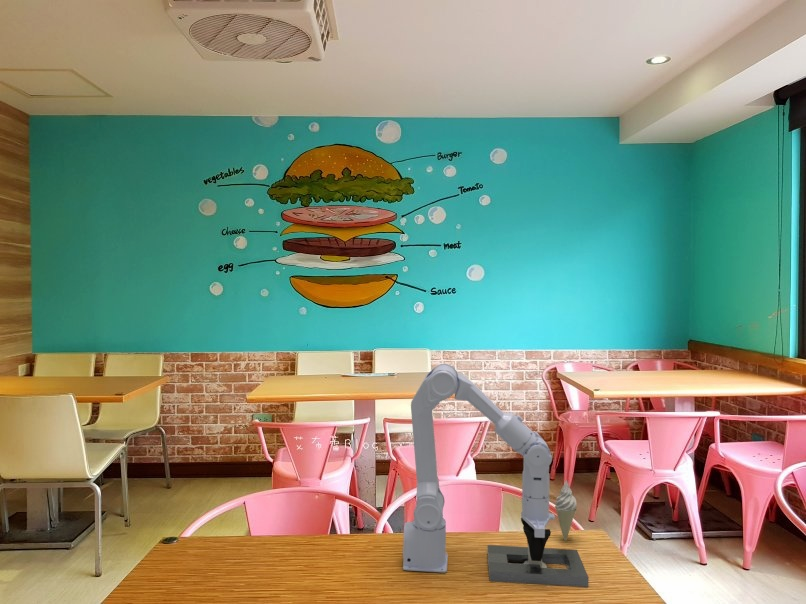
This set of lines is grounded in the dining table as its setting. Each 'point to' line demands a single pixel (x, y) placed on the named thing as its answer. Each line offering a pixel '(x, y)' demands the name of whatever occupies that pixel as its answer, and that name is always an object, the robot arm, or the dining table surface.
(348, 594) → the dining table surface
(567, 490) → the ice cream cone
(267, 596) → the dining table surface
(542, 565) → the peg
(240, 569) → the dining table surface
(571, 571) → the keyhole plate
